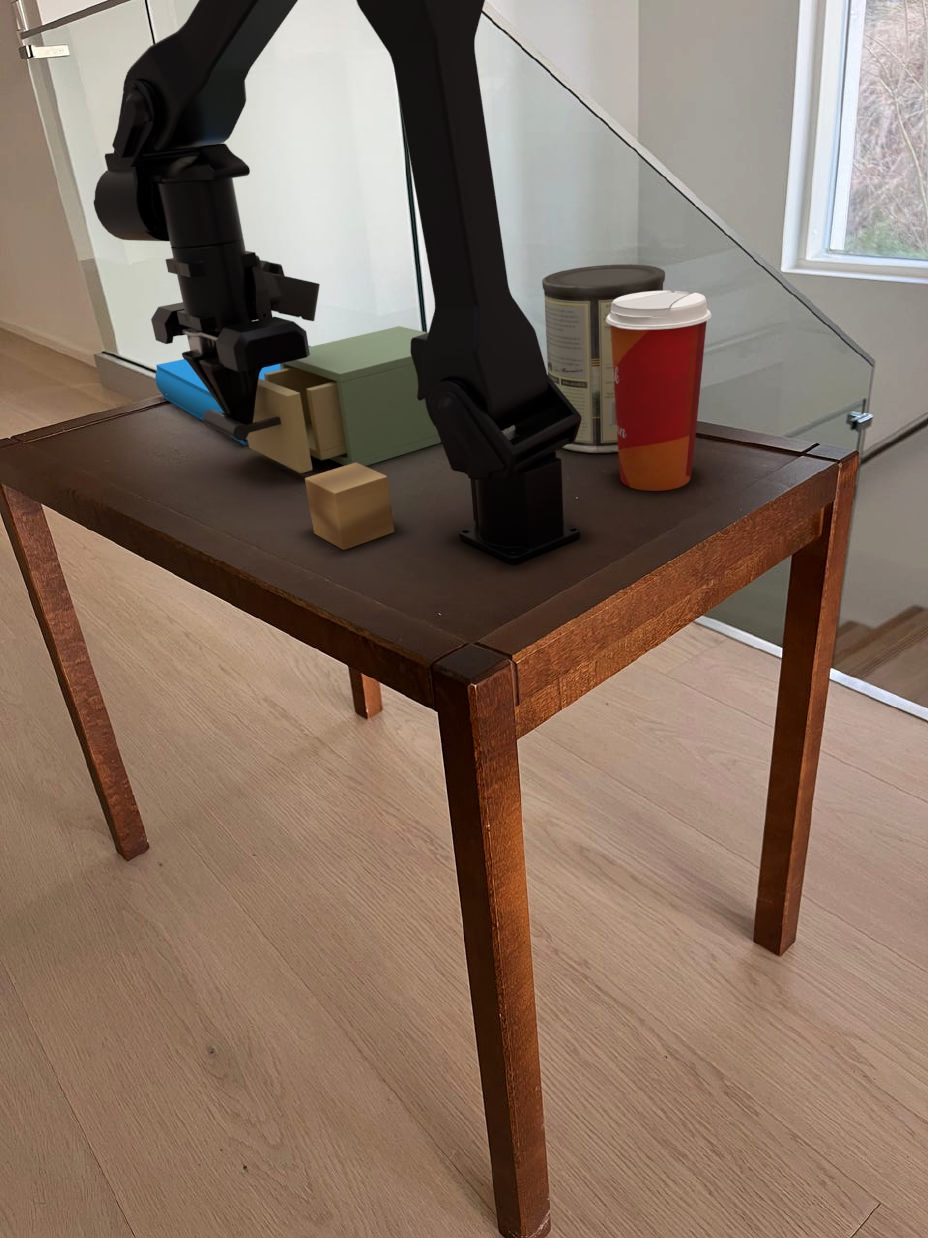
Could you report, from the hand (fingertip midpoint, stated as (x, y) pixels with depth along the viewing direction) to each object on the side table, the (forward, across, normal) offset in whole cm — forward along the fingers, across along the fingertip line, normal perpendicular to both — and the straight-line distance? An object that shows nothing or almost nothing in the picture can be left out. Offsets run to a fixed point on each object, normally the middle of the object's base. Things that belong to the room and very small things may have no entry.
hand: (244, 431), depth 83 cm
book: (+4, +21, -12) cm, 24 cm away
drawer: (+3, 0, -6) cm, 7 cm away
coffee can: (+4, -16, -28) cm, 32 cm away
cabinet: (+4, 0, -14) cm, 14 cm away
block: (+4, -18, 0) cm, 19 cm away
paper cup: (+4, -27, -23) cm, 36 cm away
